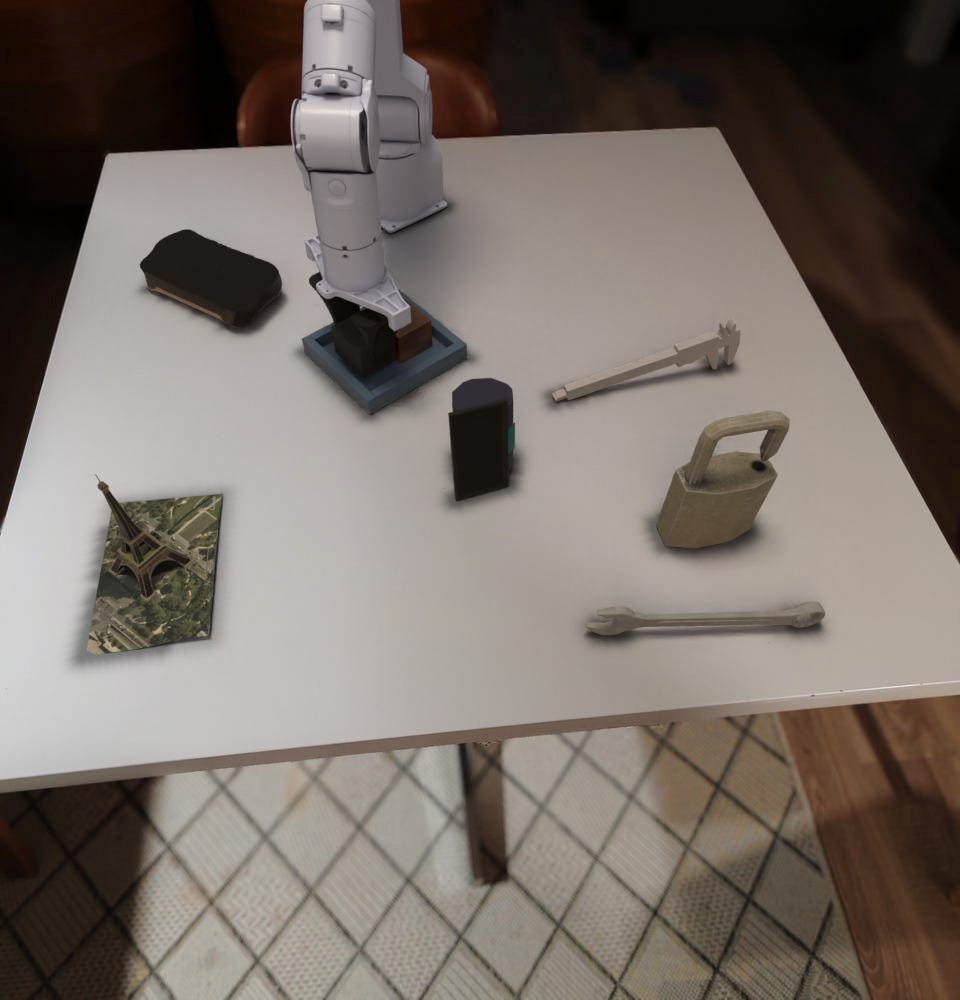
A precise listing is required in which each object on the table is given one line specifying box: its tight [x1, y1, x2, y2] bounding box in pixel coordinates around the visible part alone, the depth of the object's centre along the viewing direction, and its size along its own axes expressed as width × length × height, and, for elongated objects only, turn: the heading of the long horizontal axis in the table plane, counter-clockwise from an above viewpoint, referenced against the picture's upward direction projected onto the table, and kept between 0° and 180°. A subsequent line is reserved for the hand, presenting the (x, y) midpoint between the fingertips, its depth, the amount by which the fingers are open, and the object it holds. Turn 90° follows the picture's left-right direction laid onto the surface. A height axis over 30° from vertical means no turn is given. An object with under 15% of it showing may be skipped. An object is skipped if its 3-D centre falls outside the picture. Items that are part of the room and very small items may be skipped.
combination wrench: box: [585, 601, 826, 636], centre depth 63 cm, size 4×1×20 cm
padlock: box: [655, 410, 791, 549], centre depth 65 cm, size 4×8×15 cm, turn 103°
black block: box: [331, 317, 397, 378], centre depth 80 cm, size 4×5×4 cm
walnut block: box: [395, 297, 433, 364], centre depth 83 cm, size 4×5×4 cm
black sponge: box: [139, 228, 283, 329], centre depth 88 cm, size 16×8×4 cm, turn 59°
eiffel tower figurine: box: [86, 473, 223, 655], centre depth 62 cm, size 15×10×13 cm
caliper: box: [551, 317, 741, 402], centre depth 79 cm, size 20×1×6 cm, turn 107°
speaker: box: [447, 377, 516, 502], centre depth 71 cm, size 8×6×10 cm
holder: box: [301, 288, 468, 415], centre depth 83 cm, size 13×12×2 cm
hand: (365, 345), depth 80 cm, fingers closed on black block, 5 cm apart
